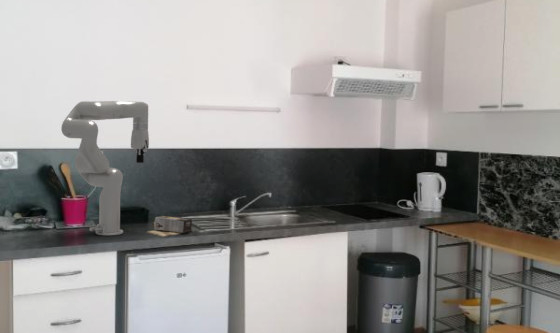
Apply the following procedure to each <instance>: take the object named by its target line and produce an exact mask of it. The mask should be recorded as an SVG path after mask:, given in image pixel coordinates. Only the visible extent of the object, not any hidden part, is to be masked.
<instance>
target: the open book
mask: <svg viewBox="0 0 560 333" xmlns="http://www.w3.org/2000/svg"><path fill="white" fill-rule="evenodd" d="M146 233H147V234H151V235H154V236H158V237H163V238H164V237H165V238H166V237H171V236H176V235H182V233H179V232H171V231H164V230H156V229H154V230H148V231H146Z"/></svg>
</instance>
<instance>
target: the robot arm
mask: <svg viewBox="0 0 560 333" xmlns="http://www.w3.org/2000/svg"><path fill="white" fill-rule="evenodd" d="M130 118H131V119H132V129H131V136H130V148H131V149H133V151H134V152H135V155H136V163H139V164H140V163H142V164H143V163H144V162H145V161H144V160H145V159H144V156H145V154H146V153H145V152H147V151H148V149H149V146H150V138H149V136H150V135H149V104H147V103H145V102H144V101H119V100H116V101H115V100H109V101H108V100H107V101H106V100H105V101H102V100H99V101H87V100H86V101H84V100H83V101H80V102H78V103H76V105H75V106H74V107H73V108H72V109H71V110H70V111H69V114H68V115H66V117H65V119H64V120H63V121H62V124H61V133H62V135H64V136H65V137H66V138H68V139H81V141H80V145H79V147H78V154H77V155H76V156H75V158H74V167H75V170H76V171H77V173H78V174H79V175H80V176H81V177H82V178H83V180H85V182H86V183H87V184H88V185H89V186H91V187H98V188H102V190H101V191H100V194H99V197H98V198H99V200H98V204H99V205H98V206H99V207H98V210H99V212H98V213H99V215H98V216H99V217H98V223H97V224H96V226H90V227H89V230H88V231H90V232H95V234H96V235H97V236H98V235H99V236H105V237H106V236H109V237H110V236H118V235H121V234H122V235H123V233H124V230H123V229H121V193H122V192H121V189H122V185H123V178H124V176H123V172H122V171H121V170H120V169H118V168H116V167H110V161H109V159H108V157H106V156H105V154H104V153H103V152H102V150H101V149H100V147H99V145H98V144H97V143H98V134H99V127H98V124H97V122H95V121H105V120H121V119H130Z"/></svg>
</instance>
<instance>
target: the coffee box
mask: <svg viewBox="0 0 560 333" xmlns="http://www.w3.org/2000/svg"><path fill="white" fill-rule="evenodd" d="M192 225H193V219H192V218H184V217H178V216H177V217H176V216H175V217H174V216H167V215H160V216H156V217H154V230H164V231H171V232H179V233H181V234H186V233H189V232H191V233H192Z"/></svg>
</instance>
